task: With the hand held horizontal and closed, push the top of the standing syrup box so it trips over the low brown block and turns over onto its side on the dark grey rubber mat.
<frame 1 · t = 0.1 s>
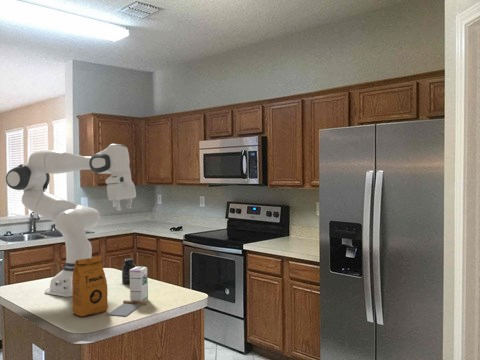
hand: (124, 209, 186), 39 cm above the counter, tool pointing down, fingers open, 8 cm apart
mat: (124, 310, 166), on the counter
syrup box: (139, 301, 177), on the counter
coffee package: (90, 313, 163), on the counter
brown block: (134, 304, 173), on the counter
supplement bottle: (129, 283, 206), on the counter
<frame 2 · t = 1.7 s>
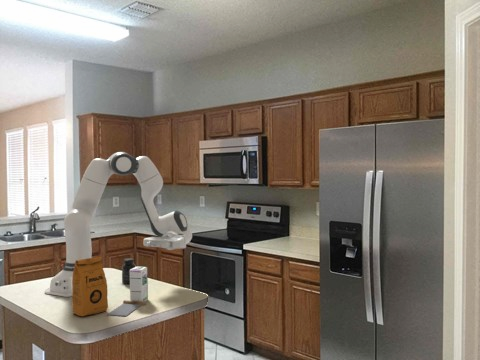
hand: (154, 245, 188), 22 cm above the counter, tool horizontal, fingers open, 6 cm apart
nothing on the counter moved.
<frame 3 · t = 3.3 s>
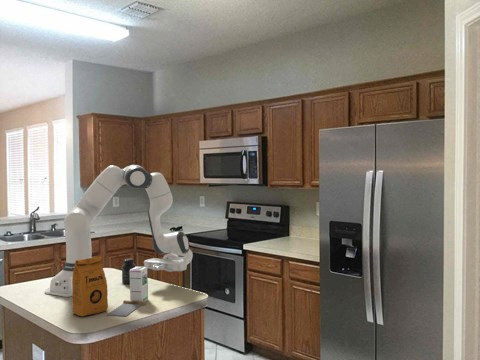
hand: (155, 268, 188), 12 cm above the counter, tool horizontal, fingers closed
nothing on the counter moved.
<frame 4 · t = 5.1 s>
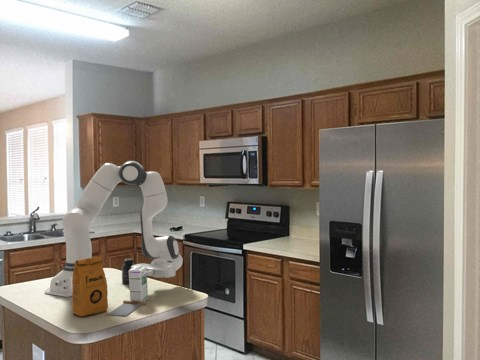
hand: (142, 274, 179), 11 cm above the counter, tool horizontal, fingers closed
nothing on the counter moved.
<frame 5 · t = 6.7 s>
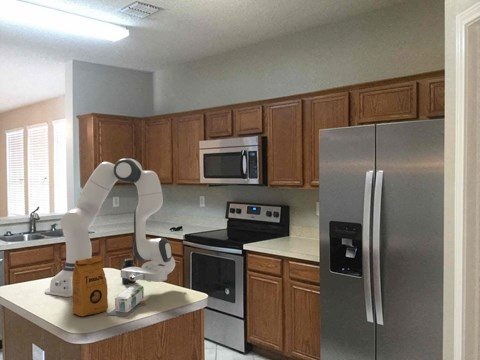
hand: (131, 278, 173), 11 cm above the counter, tool horizontal, fingers closed
syrup box: (137, 291, 176), point 4 cm above the counter, touching brown block, mat
everything else where it was.
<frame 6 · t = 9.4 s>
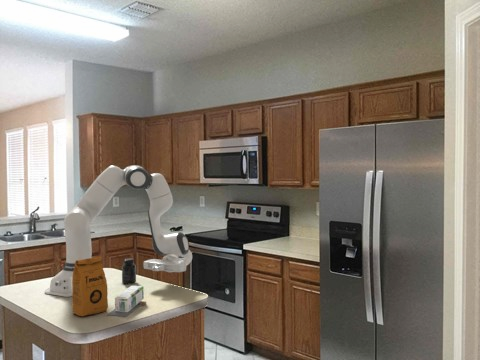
hand: (154, 269, 188), 11 cm above the counter, tool horizontal, fingers closed
nothing on the counter moved.
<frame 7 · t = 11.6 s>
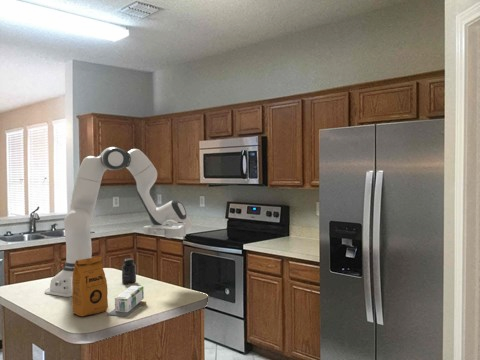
hand: (154, 232, 188), 28 cm above the counter, tool horizontal, fingers closed
nothing on the counter moved.
at the end: syrup box tilted 94°; syrup box inside the target area (6.6 cm from its centre), point 4.3 cm above the counter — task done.
